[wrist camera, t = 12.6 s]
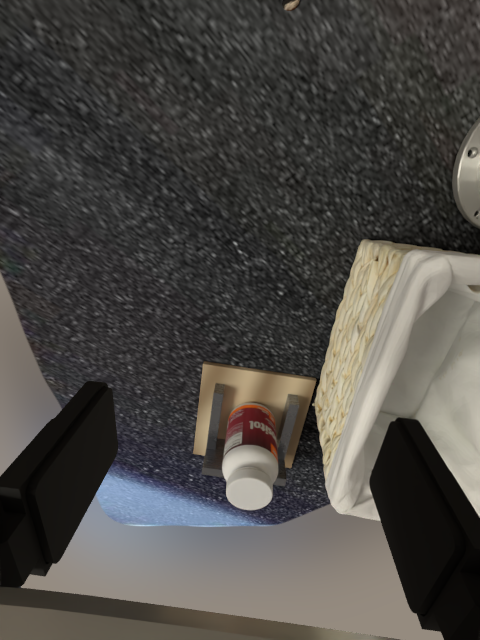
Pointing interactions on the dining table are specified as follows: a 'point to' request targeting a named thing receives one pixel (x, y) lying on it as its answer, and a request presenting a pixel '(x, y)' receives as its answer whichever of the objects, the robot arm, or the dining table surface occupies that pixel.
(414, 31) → the dining table surface
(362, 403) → the storage basket
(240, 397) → the maple board
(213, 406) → the gunmetal guide rail
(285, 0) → the orange brown oval heap
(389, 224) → the dining table surface
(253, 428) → the pill bottle
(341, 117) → the dining table surface
